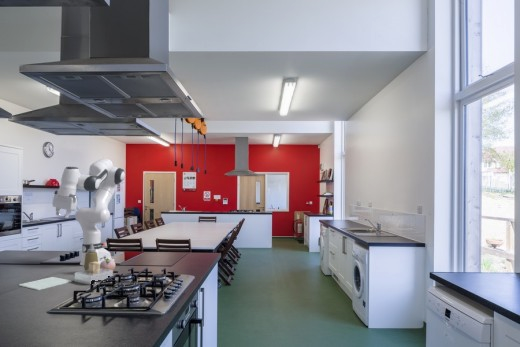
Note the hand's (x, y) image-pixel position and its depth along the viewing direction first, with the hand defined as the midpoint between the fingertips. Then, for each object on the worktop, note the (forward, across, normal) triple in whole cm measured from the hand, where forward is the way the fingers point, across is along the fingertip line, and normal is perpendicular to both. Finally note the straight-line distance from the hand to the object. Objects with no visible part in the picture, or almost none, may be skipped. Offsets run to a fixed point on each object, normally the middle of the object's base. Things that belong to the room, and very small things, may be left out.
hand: (61, 216), depth 198 cm
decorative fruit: (+31, -19, -24) cm, 44 cm away
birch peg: (+32, -25, -12) cm, 42 cm away
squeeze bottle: (+33, -6, -22) cm, 40 cm away
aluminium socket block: (+32, -25, -12) cm, 42 cm away
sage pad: (+36, -9, +6) cm, 38 cm away
